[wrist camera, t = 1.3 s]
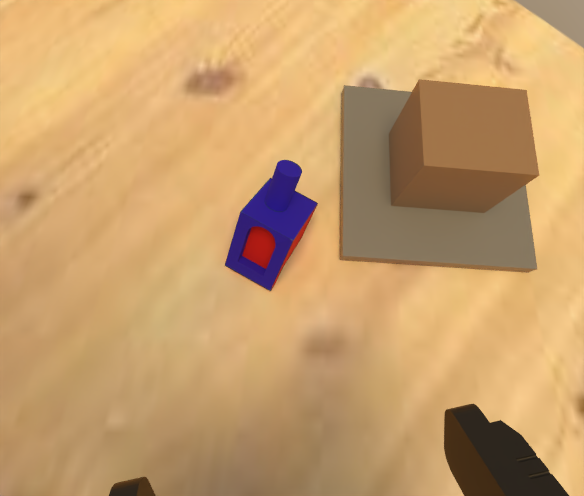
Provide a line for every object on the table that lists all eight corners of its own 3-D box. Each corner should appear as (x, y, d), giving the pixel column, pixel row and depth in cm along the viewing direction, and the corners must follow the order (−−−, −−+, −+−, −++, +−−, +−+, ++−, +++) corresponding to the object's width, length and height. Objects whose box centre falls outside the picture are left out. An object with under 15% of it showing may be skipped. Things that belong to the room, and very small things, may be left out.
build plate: (339, 259, 29) (365, 225, 22) (341, 93, 33) (363, 22, 26) (528, 272, 30) (607, 243, 23) (506, 109, 34) (568, 44, 27)
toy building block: (294, 253, 30) (333, 170, 24) (270, 291, 27) (308, 206, 21) (252, 230, 30) (282, 142, 25) (224, 265, 27) (250, 175, 22)
